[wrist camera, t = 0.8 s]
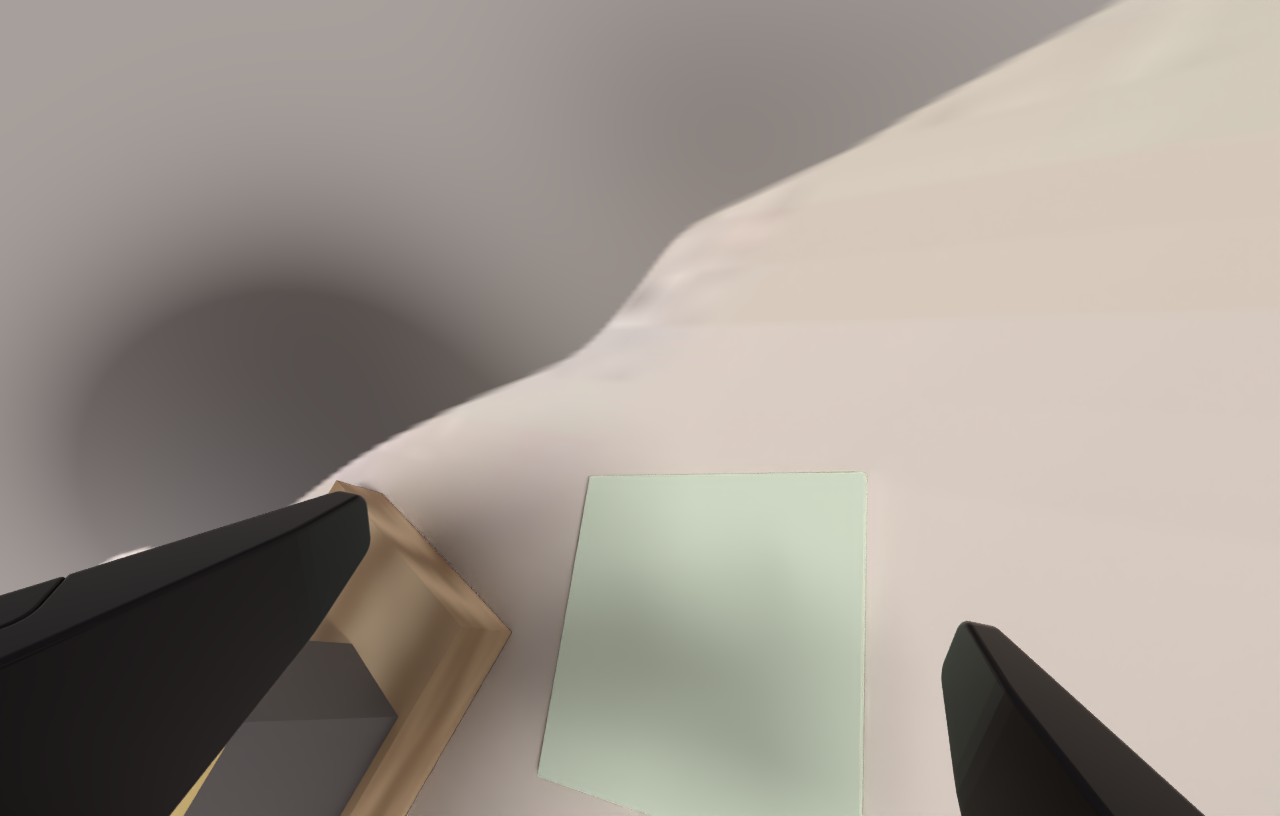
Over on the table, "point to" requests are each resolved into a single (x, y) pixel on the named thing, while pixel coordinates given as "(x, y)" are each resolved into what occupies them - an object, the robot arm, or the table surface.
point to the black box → (300, 742)
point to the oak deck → (410, 650)
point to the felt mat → (715, 646)
